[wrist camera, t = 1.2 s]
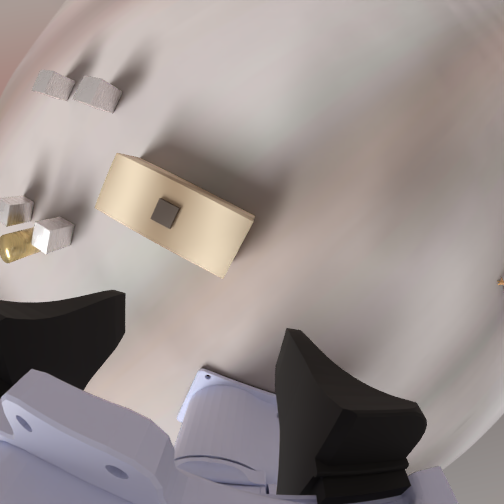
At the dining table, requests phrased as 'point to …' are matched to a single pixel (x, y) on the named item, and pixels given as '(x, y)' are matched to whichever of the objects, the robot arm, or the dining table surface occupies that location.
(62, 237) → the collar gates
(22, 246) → the gold capsule
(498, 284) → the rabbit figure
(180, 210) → the bar
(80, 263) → the dining table surface
